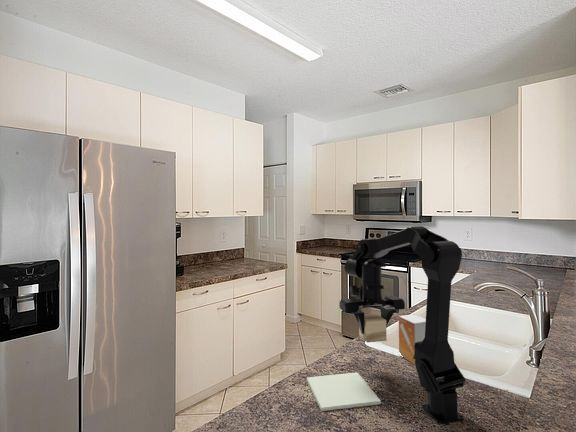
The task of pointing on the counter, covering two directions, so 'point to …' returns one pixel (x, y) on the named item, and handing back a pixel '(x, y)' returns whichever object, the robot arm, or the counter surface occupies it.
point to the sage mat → (342, 391)
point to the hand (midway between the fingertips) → (372, 332)
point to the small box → (410, 334)
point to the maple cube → (374, 329)
